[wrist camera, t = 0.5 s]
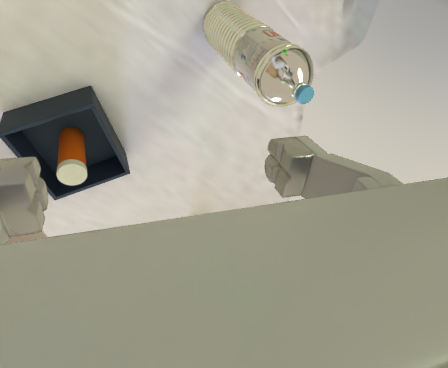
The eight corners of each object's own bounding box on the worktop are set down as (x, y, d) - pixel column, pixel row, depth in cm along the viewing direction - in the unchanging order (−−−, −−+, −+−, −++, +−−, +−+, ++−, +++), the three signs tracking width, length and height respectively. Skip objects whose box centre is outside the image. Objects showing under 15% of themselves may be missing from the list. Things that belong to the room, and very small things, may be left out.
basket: (3, 112, 45) (-4, 133, 41) (90, 85, 46) (92, 103, 42) (56, 178, 55) (54, 200, 51) (126, 154, 57) (130, 173, 53)
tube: (53, 131, 49) (50, 170, 42) (77, 123, 49) (79, 160, 42) (66, 150, 52) (65, 189, 45) (89, 142, 52) (92, 179, 45)
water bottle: (193, 19, 45) (266, 91, 28) (230, -10, 45) (328, 46, 28) (215, 56, 50) (288, 136, 33) (248, 30, 50) (341, 99, 33)
